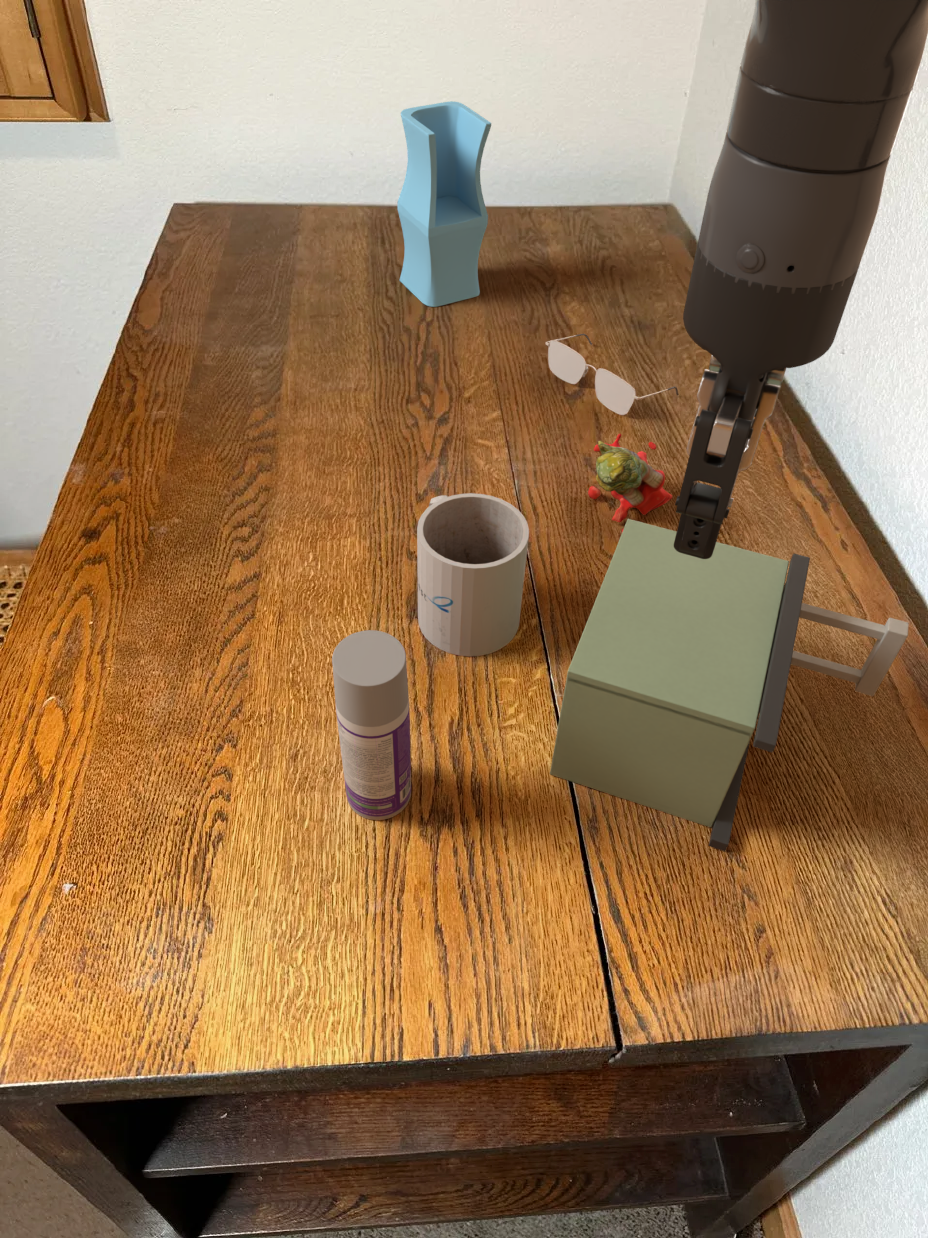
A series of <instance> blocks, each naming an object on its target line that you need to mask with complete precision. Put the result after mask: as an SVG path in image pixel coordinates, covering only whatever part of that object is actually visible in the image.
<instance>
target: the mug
mask: <svg viewBox="0 0 928 1238" xmlns="http://www.w3.org/2000/svg"><path fill="white" fill-rule="evenodd" d="M529 535H530V528H529V524H528V521H527V520H526V518H525V516H524V515H523V514H522V512H521V511H520V510H519V509H518V508H517V507H515V506H514V505H513V504H512V503H510V502H507V501H506V500H504V499H502V498H499V497H496V496H493V495H488V494H484V493H476V492H475V493H474V492H469V493H459V494H452V495H445V494H444V495H443V494H441V495H438V496H435V497H432V498H431V499H430V501H429V503H428V507H427V508H426V509H425V510H424V511H423V513H422V514H421V515H420V517H419V519H418V522H417V527H416V542H417V543H416V548H417V549H416V551H417V552H416V553H417V556H416V557H417V558H416V559H417V561H416V563H417V567H416V568H417V570H416V571H417V622H418V626H419V629H420V631H421V633H422V635H423V636H424V637H425V640H427V641H428V642H429V643H430V644H431V645H433V646H434V647H435V648H438V649H439V650H441V651H444V652H446V653H448V654H451V655H456V656H461V657H480V656H484V655H489V654H492V653H495V652H497V651H499V650H502V648H504V647H505V646H507V645H508V644H510V642H511V641H513V639H514V638H515V636H516V634H517V633H518V630H519V628H520V621H521V620H520V619H521V610H522V601H523V593H524V584H525V575H526V574H525V573H526V566H527V557H528V548H529V547H528V546H529V537H530V536H529Z"/></svg>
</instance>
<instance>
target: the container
mask: <svg viewBox="0 0 928 1238" xmlns="http://www.w3.org/2000/svg"><path fill="white" fill-rule="evenodd" d="M331 664H332V675H333V676H332V677H333V689H334V701H335V702H334V703H335V713H336V714H335V715H336V722H337V731H338V738H339V739H338V740H339V746H340V755H341V763H342V771H343V772H342V773H343V779H344V787H345V795H346V800H347V804H348V805H349V807H350V808H351V810H352V811H353V812H354V813H355V814H357V815H358V816H360V817H362V818H364V819H366V820H370V821H371V820H372V821H382V820H388V819H391V818H393V817H396V816H397V815H398V814H400V813H402V812H403V810H405V808H406V807H407V805H409V802H410V800H411V796H412V765H411V764H412V763H411V761H412V759H411V758H412V757H411V723H410V722H411V721H410V719H411V717H410V715H411V714H410V713H411V712H410V697H409V696H410V695H409V684H408V683H409V682H408V680H409V679H408V669H407V668H408V665H407V653H406V650H405V647H404V646H403V644H402V643H401V641H399V639H398V638H397V637H396V636H393V635H391V634H390V633H387V632H384V631H381V630H375V629H374V630H373V629H367V630H361V631H357V632H353V633H351V634H349V635H347V636H346V637H344V638H343V639H342V640H340V641H339V643H338V644H337V645H336V646H335V648H334V650H333V653H332V657H331Z"/></svg>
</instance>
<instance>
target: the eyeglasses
mask: <svg viewBox="0 0 928 1238" xmlns="http://www.w3.org/2000/svg"><path fill="white" fill-rule="evenodd" d="M580 336H584V337H585V338H586V339H587V341H588V343H589V345H590V346H592V345H593V343H592V342H591V339H590V338H589V336H588V335H587V334H586V333H579V334H575V335H571V336H566V337H561V338H557V339H551V340H548V341H545V346H547V347H548V350H547V363H548V368H549V370H550V371H551V373H552V374H553V375H555V376H556V377H557V378H558V379H560V380H562V381H563V382H565V383H568V384H570V385H576V384H578V383H579V382H580V380H581V379H582V378H585V377H586V376H587V374H588V372H589V367H590V368H592V369H593V370H594V371H595V376H594V390H595V395H596V398H597V400H598V401H599V403H600V404H601V405H603V406H604V407H605V408H607V409H608V410H610V411H612V412H613V413H615V414H617V415H619V416H625V415H627V414H628V413H629V412H630V410H631V408H632V406H633V404H634V402H635V400H636V401H641V400H643V399H647V398H650V397H652V396H656V395H658V394H661V393H664V392H667V391H670V390H673V389H675V394H676V396H677V397H678V396H679V391H678V386H677V387H676V386H672V387H668V388H666V389H663V390H660V391H656V392H653V393H650V394H646V395H642V396H637V391H636V389H635V388H634V386H633V385H631V384H630V383H628V382H627V381H626V380H625V379H623V378H622V377H620V376H619V375H617V374H615V373H613V372H612V371H610V370H607V369H605V368H603V367H601V368H596V367H594V366H593V365H592V364H588V363H587V362H586V359H585V358H584V356H583V355H582V354H580V353H579V352H578V351H576V350H575V349H573V348H571V347H570V346H568V345H566V344H564V343H562V342H560V341H563V340H566V339H572V338H575V337H580Z"/></svg>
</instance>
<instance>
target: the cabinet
mask: <svg viewBox="0 0 928 1238" xmlns="http://www.w3.org/2000/svg"><path fill="white" fill-rule="evenodd" d="M623 528H624V530H623V532H622V531H621V535H620V537H619V540H618V543H617V545H616V548H615V550H614V553H613V555H612V558H611V560H610V562H609V565H608V568H607V570H606V573H605V575H604V578H603V579H602V583H601V585H600V587H599V591H598V593H597V594H596V595H597V596H596V598H595V601H594V602H593V606H592V607H591V610H590V613H589V615H588V618H587V620H586V624H585V626H584V629H583V631H582V634H581V637H580V639H579V641H578V644H577V646H576V648H575V652H574V654H573V656H572V659H571V661H570V664H569V665H568V669H567V673H566V679H565V683H564V690H563V697H562V700H561V706H560V713H559V719H558V724H557V730H556V736H555V741H554V747H553V753H552V759H551V763H550V770H549V775H550V776H553V777H557V778H560V779H563V780H566V781H568V782H571V783H575V784H578V785H580V786H584V787H587V788H589V789H593V790H596V791H598V792H602V793H605V794H608V795H611V796H613V797H617V798H621V799H623V800H626V801H629V802H631V803H635V804H639V805H641V806H644V807H647V808H650V809H653V810H656V811H660V812H662V813H666V814H668V815H672V816H674V817H676V818H677V817H678V818H680V819H684V820H686V821H689V822H693V823H696V824H698V825H701V826H705V827H707V828H711V832H710V837H709V841H708V847H710V848H713V849H715V850H719V851H722V852H726V851H727V849H728V848H729V845H730V840H731V836H732V831H733V826H734V822H735V815H736V812H737V808H738V807H737V806H738V803H739V802H738V801H739V796H740V792H741V788H742V787H741V786H742V783H743V778H744V772H745V767H746V762H747V758H748V753H749V749H750V748H749V747H750V743H751V739H752V737H753V734H754V732H755V734H754V739H753V743H752V747H753V748H756V749H758V750H762V751H765V752H769V753H773V752H774V751H775V749H776V747H777V744H778V743H777V742H778V737H779V732H780V727H781V722H782V721H781V720H782V715H783V710H784V704H785V698H786V694H787V687H788V683H789V682H788V681H789V677H790V670H791V667H792V666H791V660H792V655H793V651H794V649H795V643H796V638H797V632H798V627H799V621H800V618H799V616H800V611H801V605H802V603H803V600H804V593H805V588H806V583H807V576H808V572H809V566H810V561H811V558H810V557H809V556H805V555H801V554H798V553H792V556H791V558H790V561H789V560H786V559H783V558H779V557H775V556H771V555H769V554H768V555H767V554H763V553H760V552H756V551H753V550H749V549H744V548H741V547H737V546H733V545H729V544H727V543H722V542H718V541H716V545H715V548H714V551H713V554H712V556H711V557H710V558H708V559H701V558H697V557H694V556H690V555H686V554H683V553H679V552H678V551H676V550H675V548H674V541H675V537H676V533H677V530H672V529H668V528H665V527H661V526H657V525H654V524H649V523H646V522H642V521H638V520H634V519H631V518H627V519H626V522H625V525H624V526H623ZM785 583H786V585H785ZM784 585H785V590H784V595H783V600H782V605H781V610H780V615H779V619H778V614H779V609H780V604H781V599H782V594H783V589H784ZM777 619H778V624H777ZM776 624H777V629H776ZM775 629H776V634H775ZM774 634H775V639H774ZM773 639H774V644H773V649H772V654H771V659H770V664H769V669H768V674H767V679H766V684H765V689H764V694H763V699H762V704H761V708H760V713H759V715H758V712H759V707H760V703H761V698H762V693H763V688H764V683H765V678H766V673H767V668H768V663H769V658H770V653H771V648H772V643H773Z"/></svg>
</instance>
